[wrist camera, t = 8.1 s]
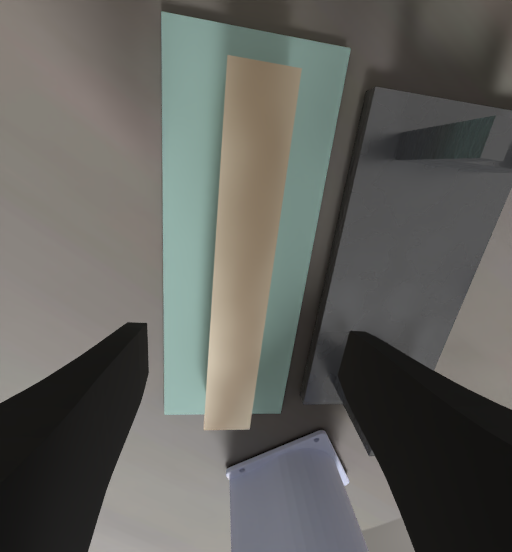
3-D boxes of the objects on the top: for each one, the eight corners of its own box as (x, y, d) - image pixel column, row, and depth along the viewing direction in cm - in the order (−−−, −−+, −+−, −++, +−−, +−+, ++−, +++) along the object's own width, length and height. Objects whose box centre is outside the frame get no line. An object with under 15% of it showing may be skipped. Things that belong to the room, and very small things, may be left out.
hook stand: (299, 394, 22) (328, 478, 16) (365, 91, 15) (462, 41, 9) (412, 394, 24) (475, 471, 18) (524, 118, 16) (698, 92, 10)
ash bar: (205, 394, 21) (203, 430, 18) (226, 77, 14) (227, 54, 11) (246, 394, 21) (249, 429, 18) (285, 87, 14) (301, 68, 11)
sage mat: (165, 409, 21) (164, 414, 21) (163, 16, 13) (161, 11, 12) (279, 408, 23) (280, 413, 22) (346, 51, 14) (350, 48, 14)
